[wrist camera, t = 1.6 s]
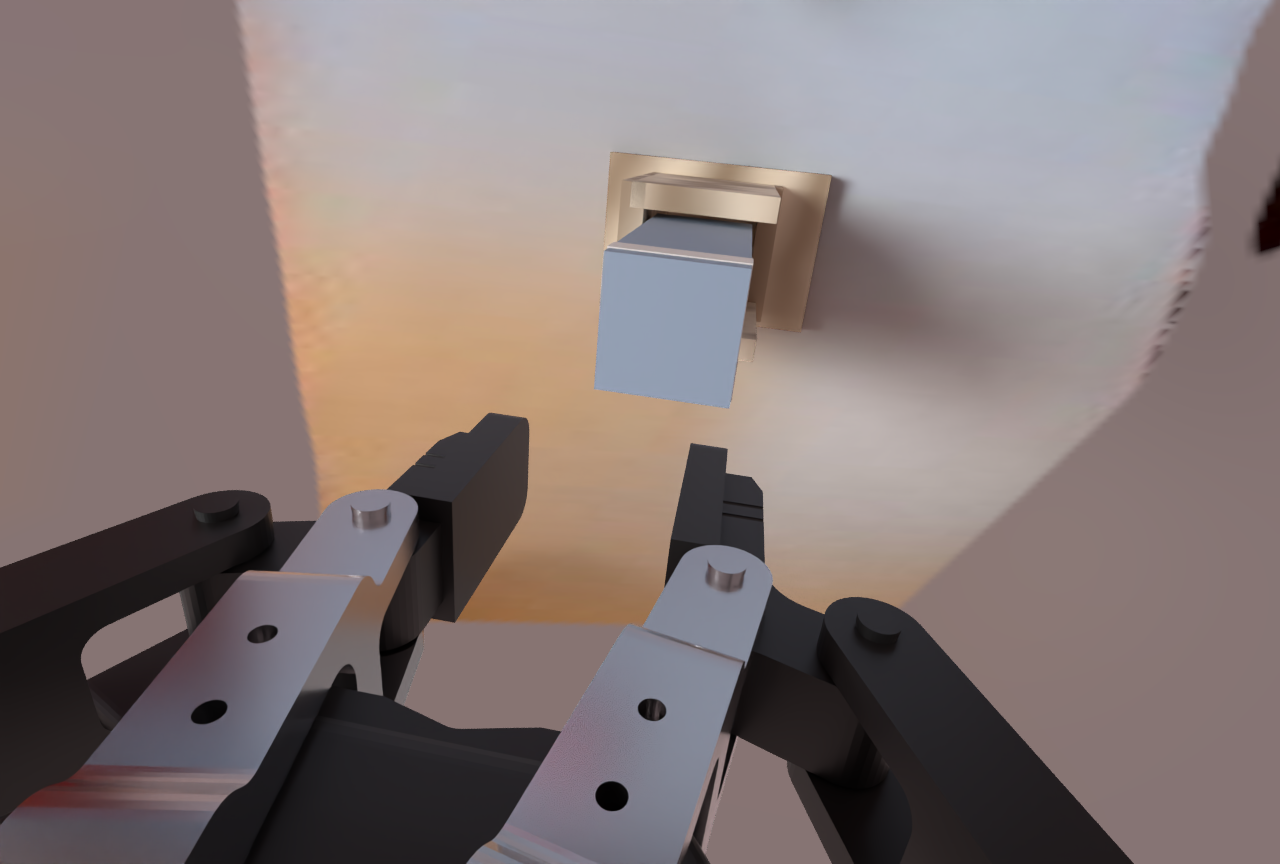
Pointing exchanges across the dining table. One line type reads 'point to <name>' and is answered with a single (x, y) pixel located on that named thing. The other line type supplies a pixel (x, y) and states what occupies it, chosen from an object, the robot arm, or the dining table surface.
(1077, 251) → the dining table surface
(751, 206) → the tan frame
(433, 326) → the dining table surface
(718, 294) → the block
